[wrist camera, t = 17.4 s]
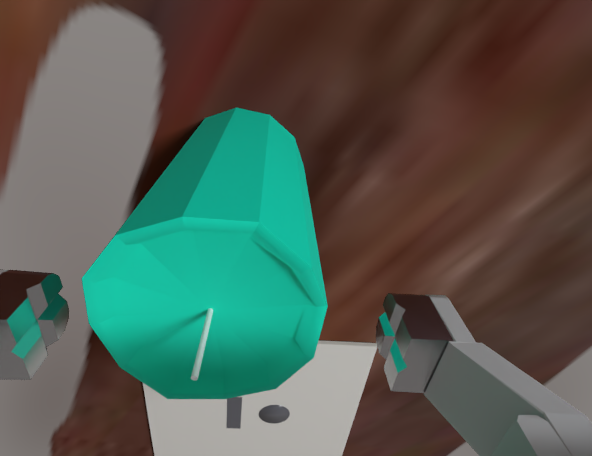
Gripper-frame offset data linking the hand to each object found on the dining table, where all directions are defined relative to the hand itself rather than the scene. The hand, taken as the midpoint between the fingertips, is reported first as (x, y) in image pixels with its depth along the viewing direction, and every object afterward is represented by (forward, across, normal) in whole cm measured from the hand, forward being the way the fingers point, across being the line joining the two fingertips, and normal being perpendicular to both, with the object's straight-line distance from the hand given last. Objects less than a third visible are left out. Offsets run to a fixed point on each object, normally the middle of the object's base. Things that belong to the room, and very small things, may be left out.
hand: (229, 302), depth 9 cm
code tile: (+10, -1, +20) cm, 22 cm away
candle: (+10, 0, 0) cm, 10 cm away
